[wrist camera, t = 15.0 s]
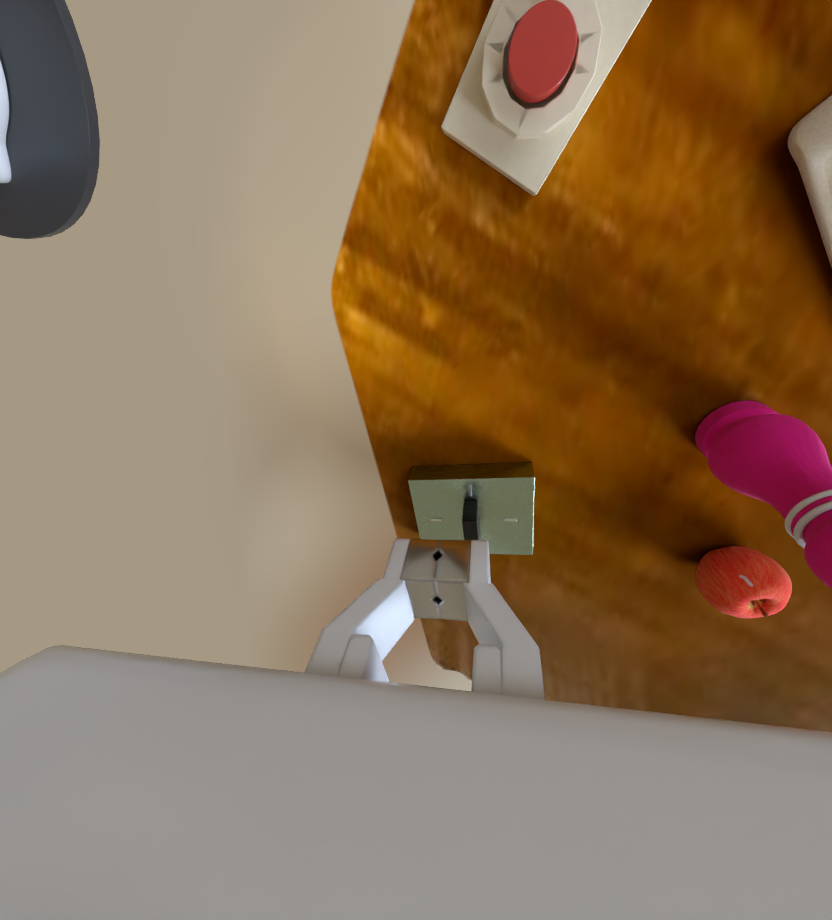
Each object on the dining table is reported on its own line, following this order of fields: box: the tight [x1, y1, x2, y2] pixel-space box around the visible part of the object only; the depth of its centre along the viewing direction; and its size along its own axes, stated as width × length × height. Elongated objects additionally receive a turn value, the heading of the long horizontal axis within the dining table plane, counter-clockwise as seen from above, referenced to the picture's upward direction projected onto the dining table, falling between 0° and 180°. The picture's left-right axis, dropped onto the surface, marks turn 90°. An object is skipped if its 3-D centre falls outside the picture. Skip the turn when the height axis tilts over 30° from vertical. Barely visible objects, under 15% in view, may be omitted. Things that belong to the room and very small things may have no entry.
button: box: [507, 0, 577, 103], centre depth 20 cm, size 4×4×2 cm
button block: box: [441, 0, 652, 196], centre depth 22 cm, size 10×8×4 cm
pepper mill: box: [695, 401, 832, 589], centre depth 26 cm, size 7×7×20 cm
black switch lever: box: [462, 500, 481, 540], centre depth 41 cm, size 6×2×4 cm, turn 9°
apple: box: [696, 546, 792, 618], centre depth 40 cm, size 8×8×8 cm
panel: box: [408, 462, 535, 555], centre depth 44 cm, size 14×12×3 cm
